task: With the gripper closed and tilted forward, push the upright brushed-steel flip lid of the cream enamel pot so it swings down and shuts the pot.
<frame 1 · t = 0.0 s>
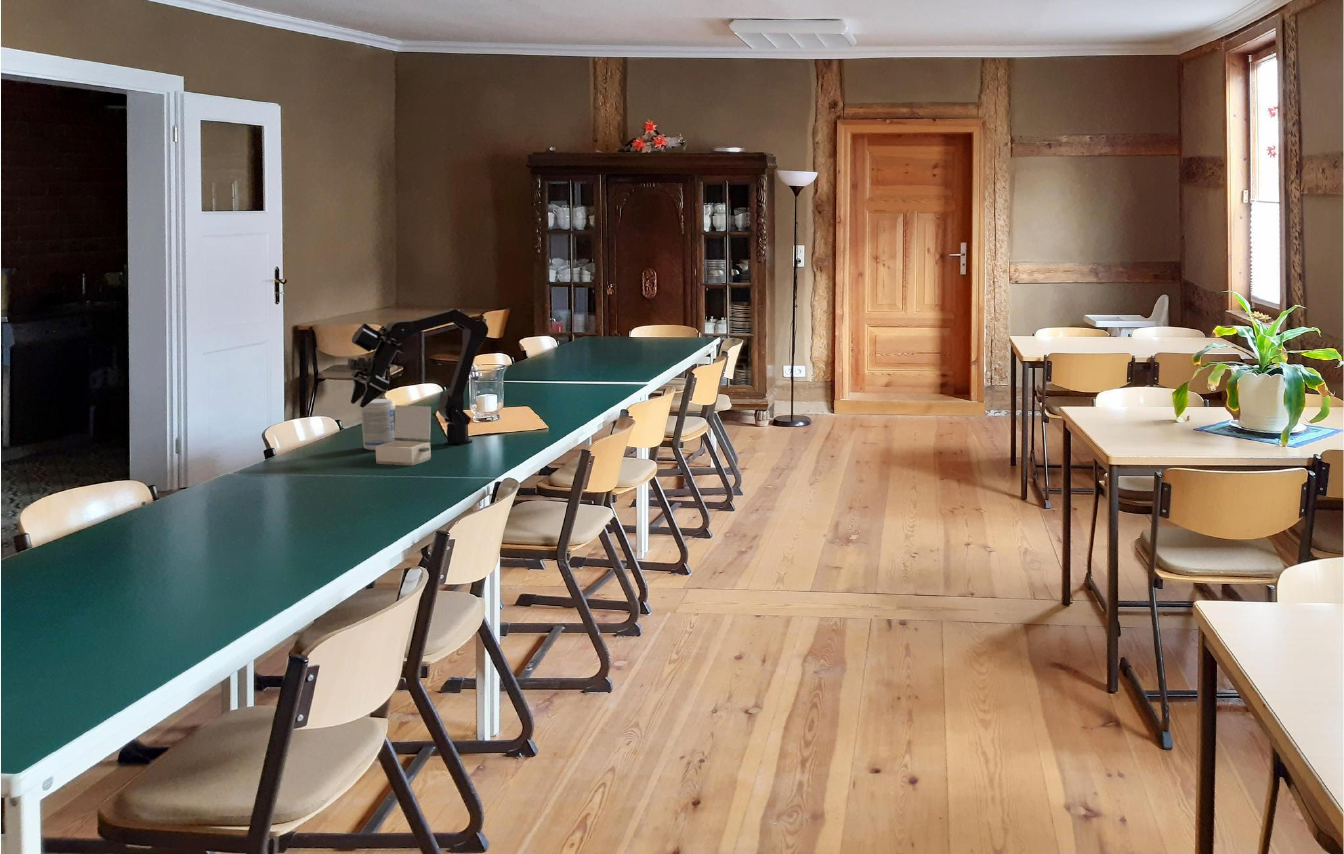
hand: (356, 405, 372), 15 cm above the table, tool tilted 35°, fingers open, 9 cm apart
pot: (403, 461, 362), on the table
supplement tub: (379, 448, 384), on the table
lid: (413, 423, 366), point 10 cm above the table, hinge at 98.0°
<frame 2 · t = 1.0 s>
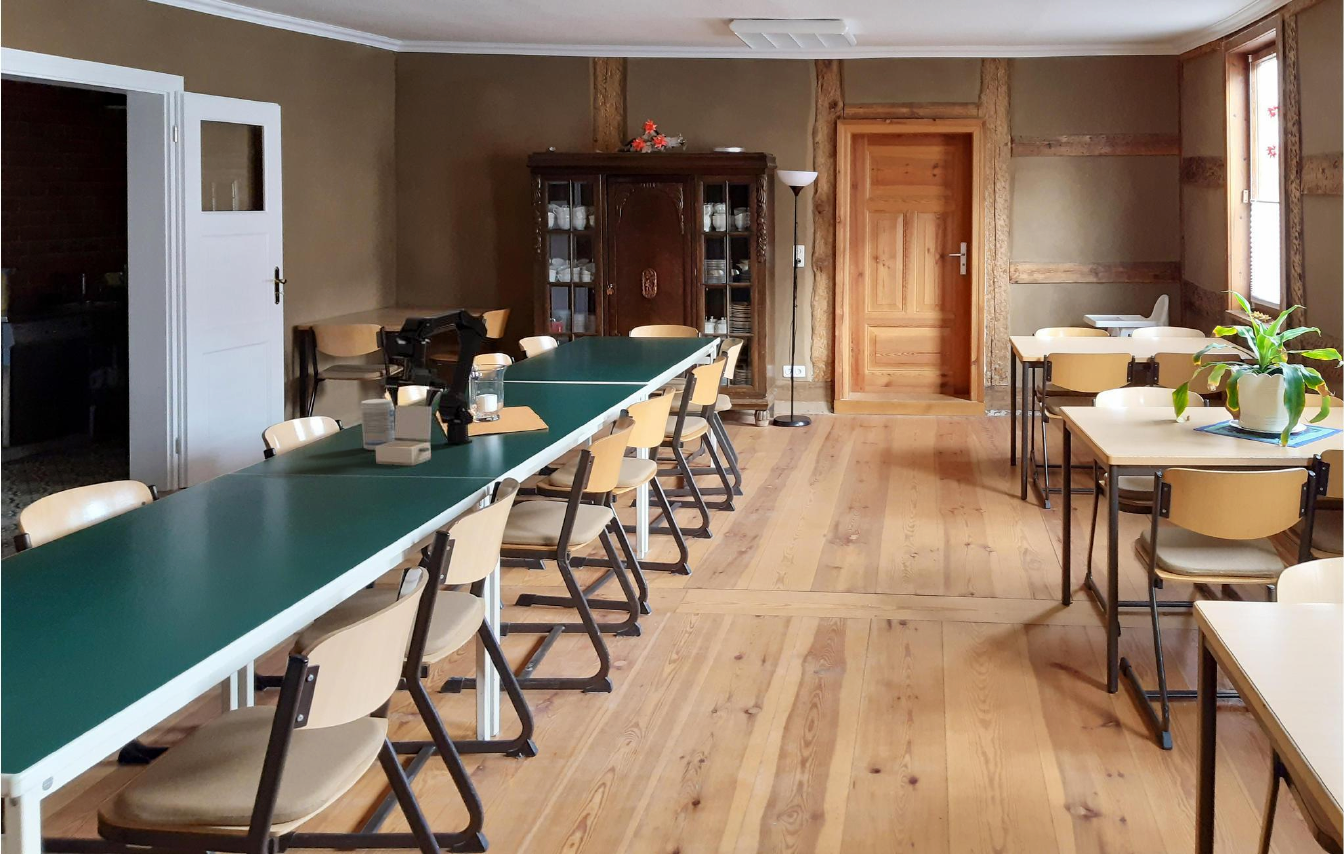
hand: (411, 411, 371), 13 cm above the table, tool pointing down, fingers open, 9 cm apart
lid: (413, 423, 366), point 10 cm above the table, hinge at 100.1°, touching gripper
everything else where it was.
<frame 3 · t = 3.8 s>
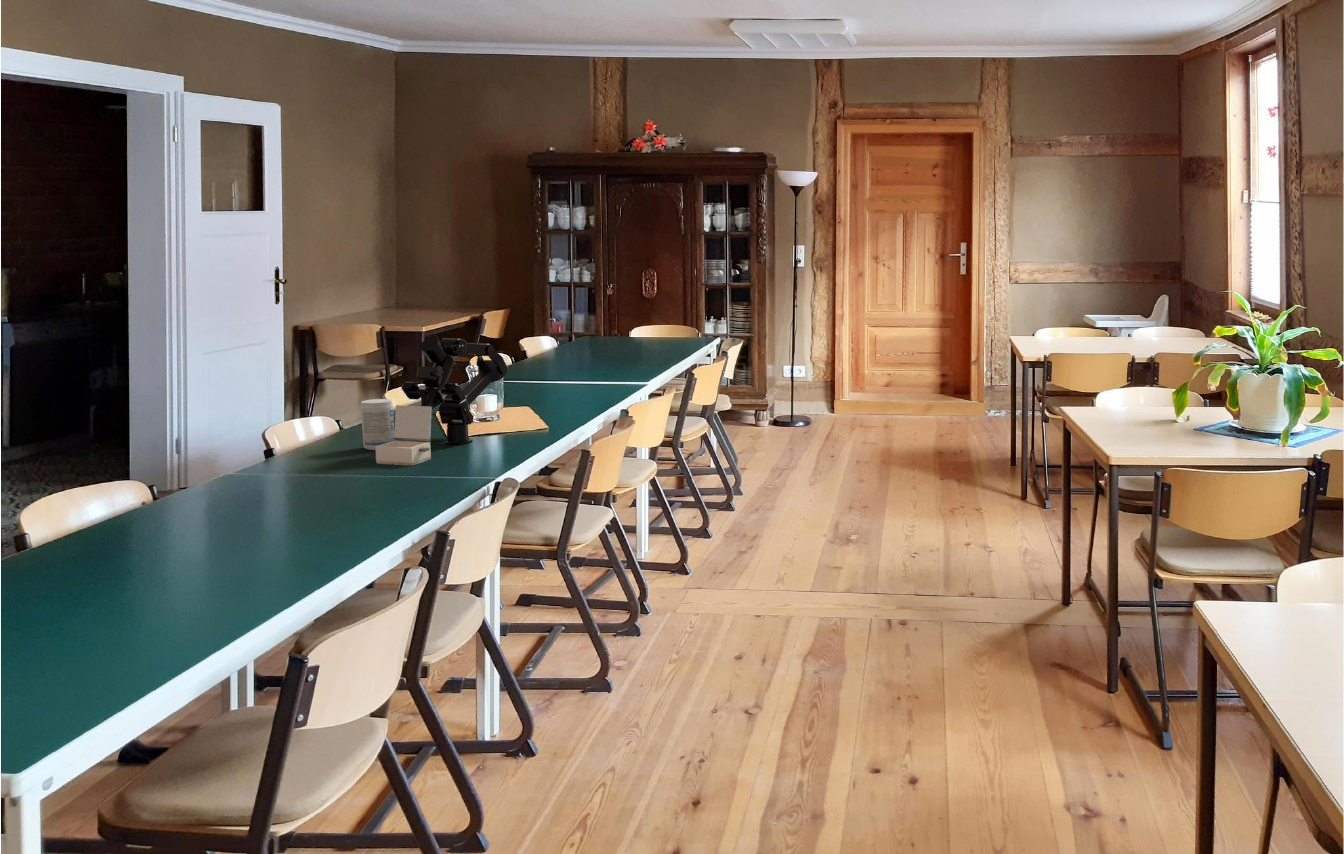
hand: (423, 414, 371), 12 cm above the table, tool tilted 45°, fingers closed
lid: (413, 423, 366), point 10 cm above the table, hinge at 100.1°
everything else where it was.
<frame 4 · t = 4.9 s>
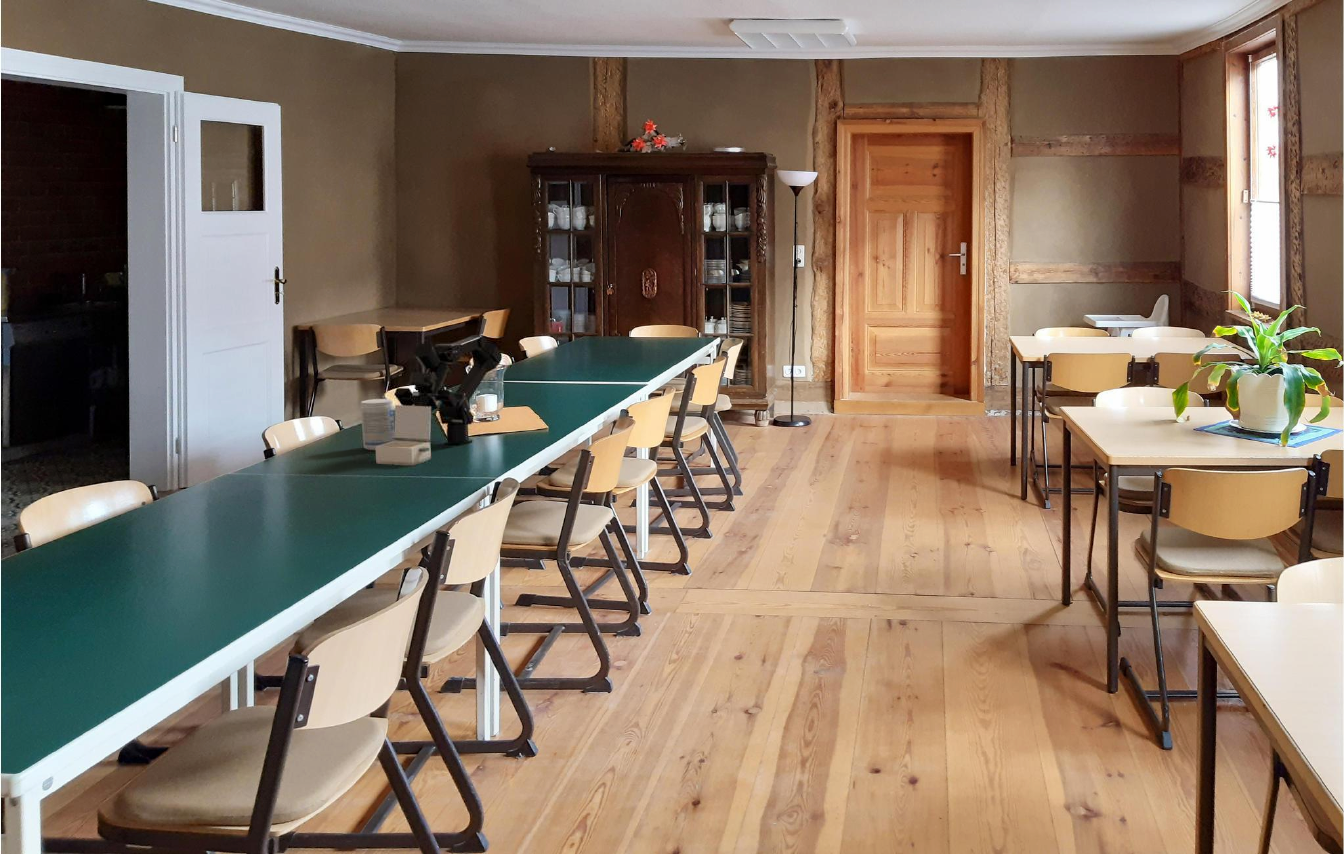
hand: (416, 420, 367), 11 cm above the table, tool tilted 45°, fingers closed, pressing on lid
lid: (413, 423, 366), point 10 cm above the table, hinge at 98.2°, touching gripper
everything else where it was.
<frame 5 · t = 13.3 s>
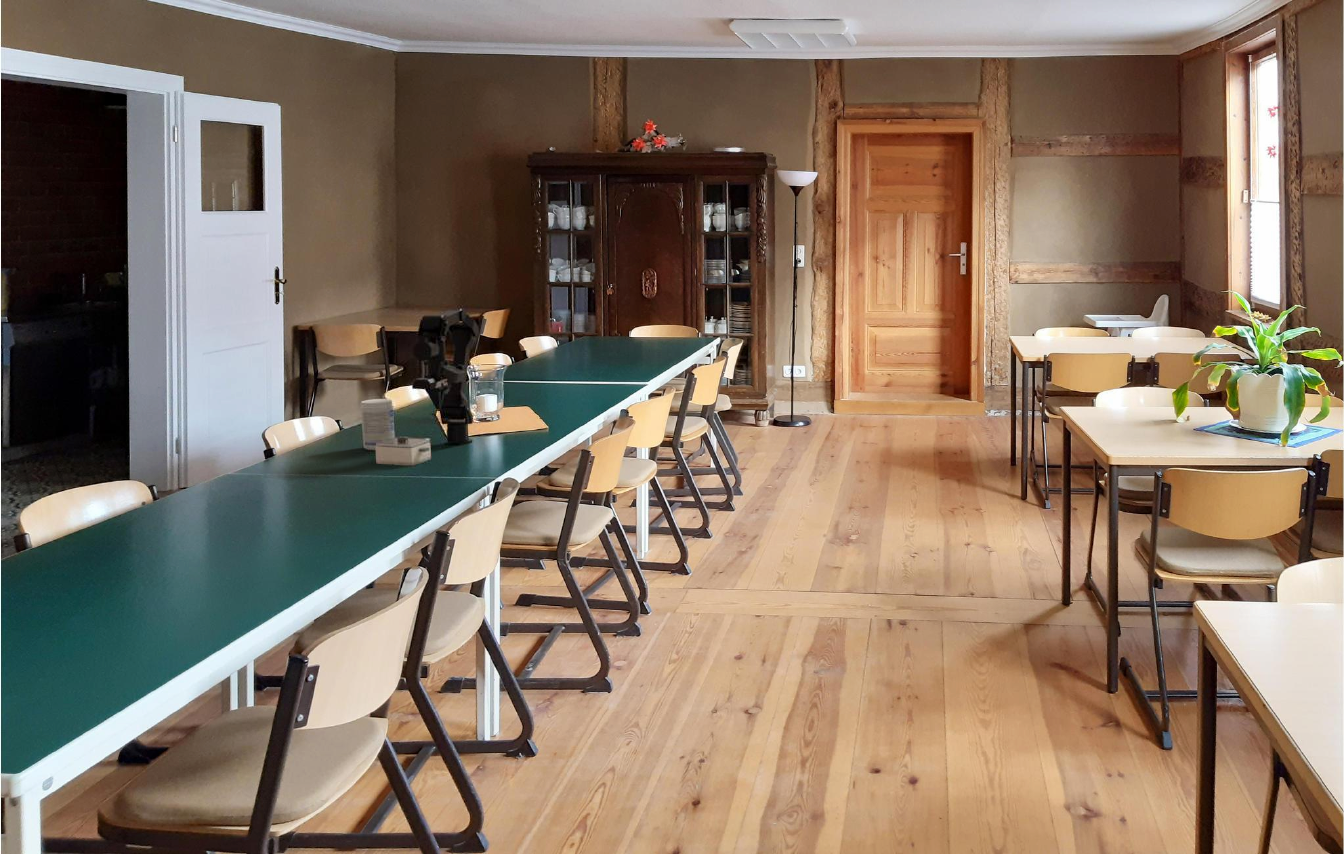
hand: (438, 409, 373), 13 cm above the table, tool pointing down, fingers closed
lid: (403, 440, 361), point 6 cm above the table, hinge at -0.3°
everything else where it was.
at the end: lid at +0° (first picture: +98°) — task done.
